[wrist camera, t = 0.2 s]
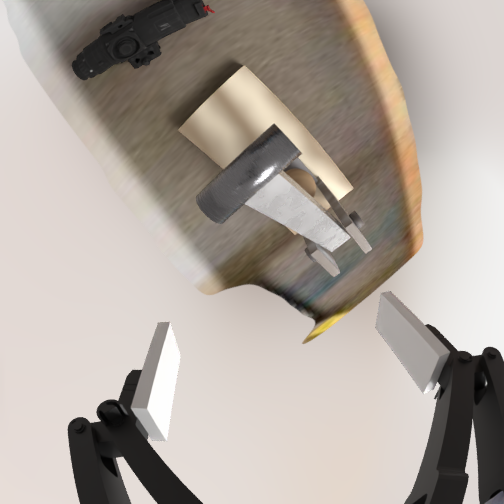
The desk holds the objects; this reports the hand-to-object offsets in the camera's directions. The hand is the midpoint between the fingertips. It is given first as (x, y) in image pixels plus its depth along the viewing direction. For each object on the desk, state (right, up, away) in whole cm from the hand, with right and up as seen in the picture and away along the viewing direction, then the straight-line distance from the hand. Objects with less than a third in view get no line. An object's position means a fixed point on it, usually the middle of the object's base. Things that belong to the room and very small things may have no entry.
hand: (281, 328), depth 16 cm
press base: (+1, +18, +22) cm, 28 cm away
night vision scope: (-15, +33, +9) cm, 38 cm away
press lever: (+2, +9, +9) cm, 13 cm away
